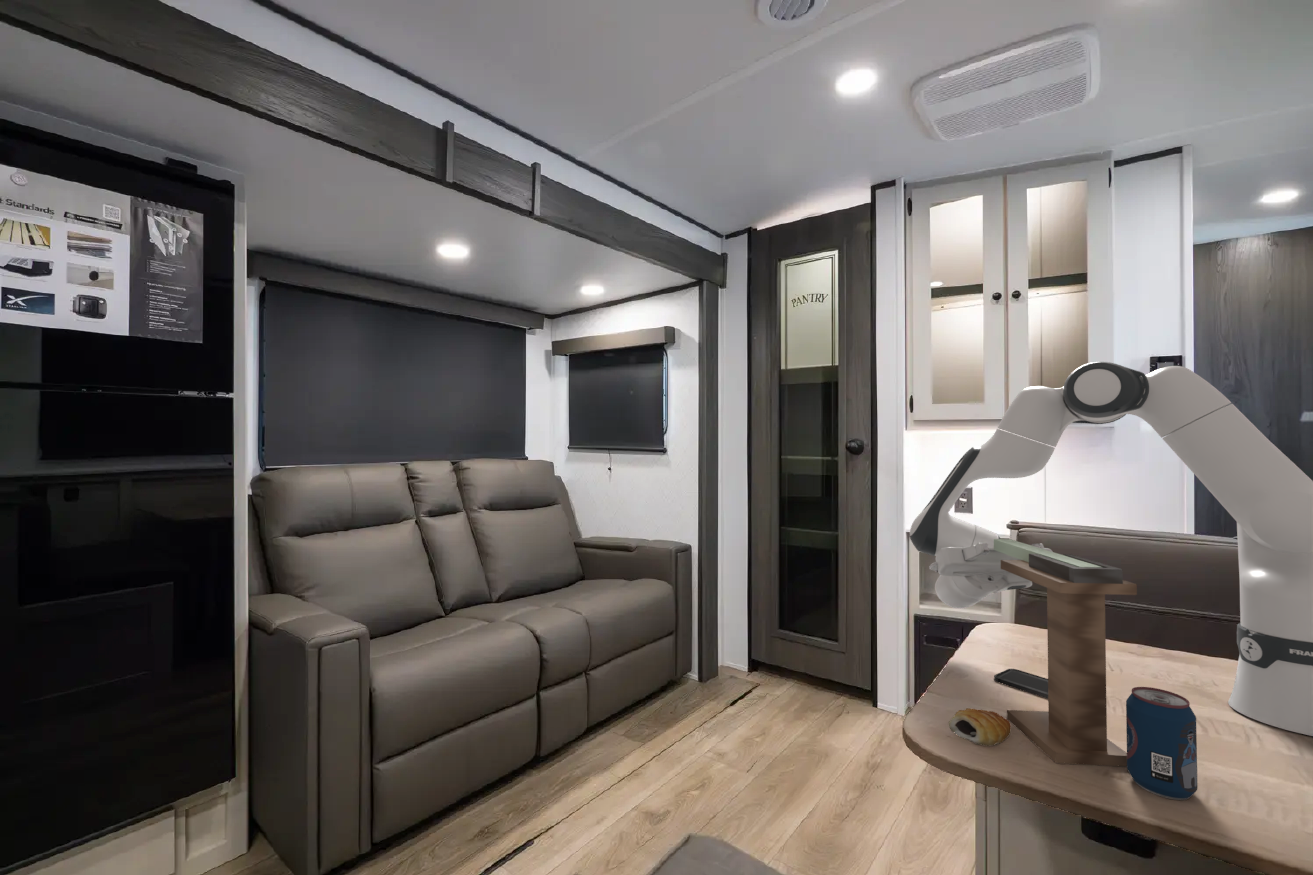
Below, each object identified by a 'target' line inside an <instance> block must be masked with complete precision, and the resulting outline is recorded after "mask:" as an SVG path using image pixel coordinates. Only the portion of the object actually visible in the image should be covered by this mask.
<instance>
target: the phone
mask: <svg viewBox="0 0 1313 875" xmlns="http://www.w3.org/2000/svg"><path fill="white" fill-rule="evenodd" d="M993 680H994V681H995V682H996V683H998V682H1000V683H999V684H1001V683H1003V684H1002V685H1004V684H1006V685H1005V686H1007V685H1008V687H1010V686H1011V688H1014V689H1017V690H1020V689H1021V690H1020V691H1023V690H1024V691H1023V692H1025V693H1029V694H1032V695H1034V696H1038V697H1040V698H1043V699H1047V700H1048V677H1047V678H1046V677H1043V676H1039V675H1036V674H1033V673H1030V672H1026V671H1023V670H1020V669H1016V668H1007V669H1006V670H1003V671H1000V672H998V673H996V674H994V676H993Z"/></svg>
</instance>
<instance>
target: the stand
mask: <svg viewBox="0 0 1313 875" xmlns="http://www.w3.org/2000/svg"><path fill="white" fill-rule="evenodd" d="M1062 555H1064V556H1068V557H1071V558H1074V559H1077V560H1081V561H1084V562H1087V563H1091V564H1094V565H1097V566H1101V567H1102V568H1094V567H1076V566H1073V565H1070V564H1067V563H1064V562H1060V561H1057V560H1054V559H1051V558H1048V557H1045V556H1042V555H1039V554H1029V562H1026V561H1024V560H1001V569H1003V570H1005V571H1008V572H1010V573H1012V574H1015V575H1017V576H1020V577H1022V578H1025V579H1027V580H1029V581H1032V583H1035V584H1037V585H1039V586H1042V587H1044V588H1046V607H1047V608H1046V612H1047V614H1046V616H1047V618H1046V619H1047V620H1046V622H1047V679H1048V699H1047V700H1048V701H1047V702H1048V706H1047V707H1048V710H1047V711H1044V710H1024V709H1023V710H1022V709H1021V710H1019V709H1016V710H1015V709H1006V719H1007V720H1008V721H1009V722H1010V724H1011V725H1013V726H1014V727H1016V728H1017V730H1019V731H1020V732H1021V733H1022V734H1023V735H1024V736H1026V737H1027V739H1029V741H1031V742H1032V743H1033V744H1034V745H1035V746H1036V747H1037V748H1039V750H1041V751H1042V752H1043V754H1045V755H1046V756H1047V757H1049V759H1051V760H1052V761H1053V762H1054V763H1055V764H1062V765H1063V764H1064V765H1085V766H1086V765H1087V766H1090V765H1091V766H1105V767H1108V766H1109V767H1125V768H1127V751H1124V749H1122V748H1121V747H1119V746H1118V745H1117V744H1115V743H1114V742H1112V741H1111V740H1110V739H1108V731H1107V730H1108V725H1107V724H1108V722H1107V720H1108V719H1107V716H1108V715H1107V714H1108V713H1107V712H1108V711H1107V710H1108V709H1107V654H1106V653H1107V652H1106V650H1107V649H1106V644H1107V643H1106V640H1107V639H1106V595H1124V596H1137V595H1138V588H1137V587H1138V586H1137V585H1138V584H1137V583H1134V582H1132V581H1128V580H1125V579H1123V577H1124V576H1123V575H1124V574H1123V569H1122V568H1119V567H1115V566H1112V565H1108V564H1106V563H1101V562H1099V561H1096V560H1092V559H1089V558H1084V557H1082V556H1078V555H1075V554H1072V553H1071V554H1070V553H1068V554H1067V553H1066V554H1064V553H1063V554H1062Z"/></svg>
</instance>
